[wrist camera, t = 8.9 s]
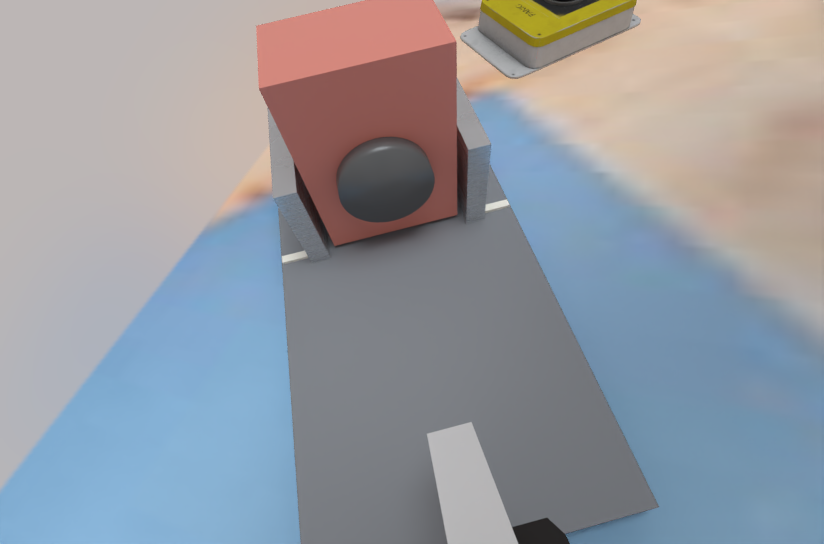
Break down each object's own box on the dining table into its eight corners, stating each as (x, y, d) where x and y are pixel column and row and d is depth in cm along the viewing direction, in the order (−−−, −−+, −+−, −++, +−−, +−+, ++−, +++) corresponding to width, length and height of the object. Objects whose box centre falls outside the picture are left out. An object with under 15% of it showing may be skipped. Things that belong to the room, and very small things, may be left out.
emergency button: (664, -26, 33) (518, 36, 31) (643, 28, 37) (511, 87, 34) (588, -60, 38) (456, -8, 35) (576, -9, 41) (456, 41, 39)
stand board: (467, 135, 31) (467, 117, 29) (644, 506, 17) (661, 507, 16) (283, 181, 30) (274, 165, 29) (316, 599, 17) (303, 608, 15)
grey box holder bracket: (445, 129, 29) (442, 50, 24) (484, 219, 25) (491, 144, 19) (300, 165, 29) (266, 92, 24) (312, 263, 24) (273, 198, 19)
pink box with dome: (436, 161, 27) (425, -14, 18) (462, 226, 24) (463, 54, 15) (325, 189, 27) (256, 25, 18) (336, 258, 24) (259, 103, 15)
